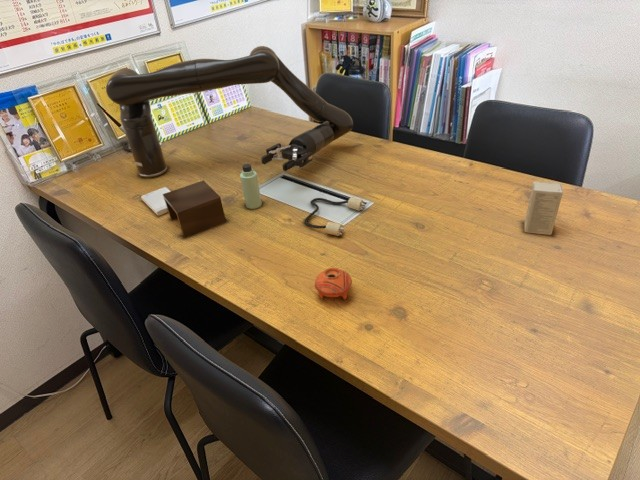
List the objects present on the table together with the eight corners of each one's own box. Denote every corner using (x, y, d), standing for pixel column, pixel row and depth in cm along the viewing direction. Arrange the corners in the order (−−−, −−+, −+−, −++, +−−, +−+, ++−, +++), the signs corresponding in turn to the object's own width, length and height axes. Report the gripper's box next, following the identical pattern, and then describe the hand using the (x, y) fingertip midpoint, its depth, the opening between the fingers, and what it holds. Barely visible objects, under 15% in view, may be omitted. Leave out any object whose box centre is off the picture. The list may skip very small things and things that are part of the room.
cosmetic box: (550, 226, 111) (562, 183, 104) (551, 236, 108) (564, 192, 101) (523, 222, 113) (533, 180, 106) (523, 232, 110) (533, 189, 103)
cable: (288, 227, 119) (287, 216, 117) (316, 198, 130) (315, 187, 128) (341, 240, 113) (340, 229, 110) (366, 208, 124) (366, 197, 122)
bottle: (243, 204, 130) (235, 165, 123) (257, 198, 132) (250, 160, 125) (250, 210, 127) (242, 171, 120) (264, 205, 129) (257, 166, 121)
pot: (327, 312, 92) (320, 284, 89) (313, 296, 99) (307, 270, 96) (361, 298, 94) (355, 271, 92) (345, 284, 101) (340, 257, 98)
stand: (170, 218, 127) (162, 194, 122) (209, 204, 132) (203, 180, 127) (184, 237, 118) (177, 212, 114) (226, 221, 123) (220, 196, 119)
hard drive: (140, 196, 135) (156, 211, 127) (166, 186, 139) (182, 200, 131) (142, 200, 136) (158, 216, 128) (167, 190, 140) (184, 205, 132)
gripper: (289, 128, 142) (253, 147, 132) (324, 137, 134) (289, 158, 124) (291, 150, 146) (257, 170, 136) (326, 160, 139) (292, 182, 129)
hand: (272, 164), depth 130 cm, fingers open, 8 cm apart
